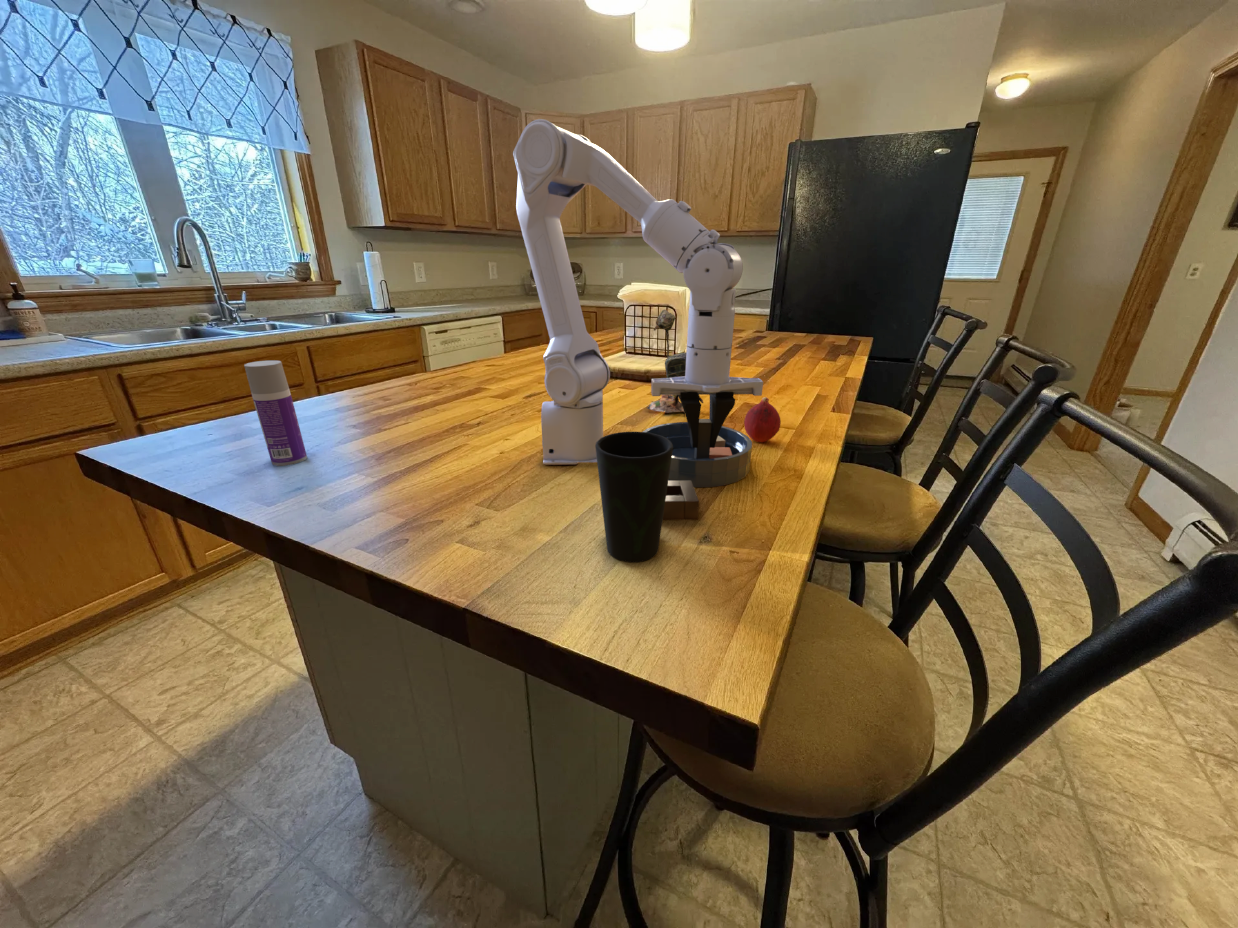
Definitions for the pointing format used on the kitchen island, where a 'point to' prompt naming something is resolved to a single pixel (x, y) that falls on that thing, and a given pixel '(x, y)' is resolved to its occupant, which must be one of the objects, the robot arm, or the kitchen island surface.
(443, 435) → the kitchen island surface
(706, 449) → the long dark block
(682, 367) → the plant with pod
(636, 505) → the cup
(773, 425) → the onion
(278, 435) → the container
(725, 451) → the terracotta block
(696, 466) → the bowl
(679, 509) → the holder
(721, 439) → the cream block
